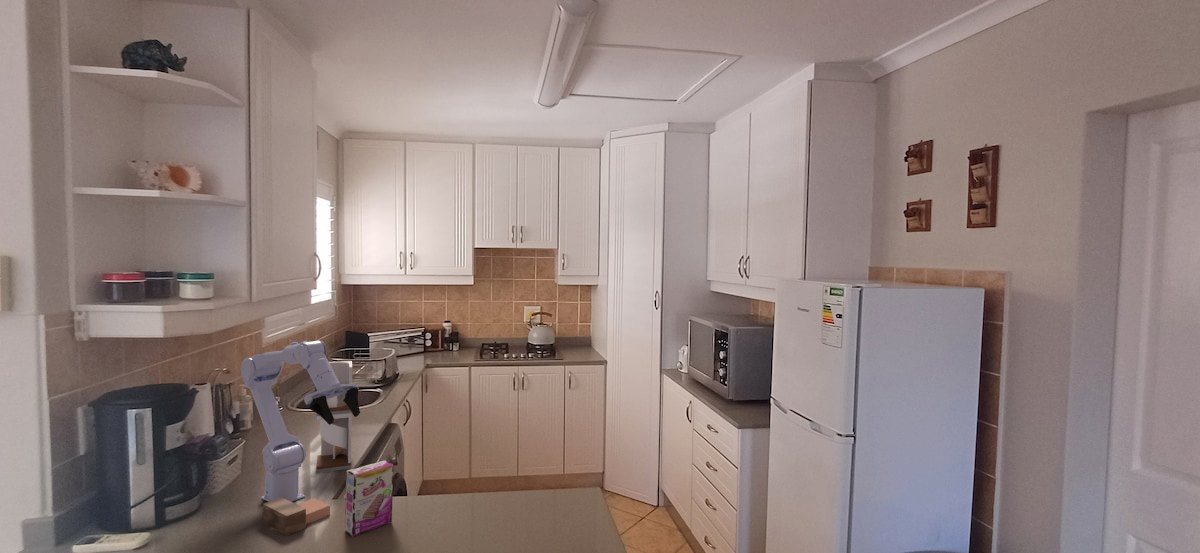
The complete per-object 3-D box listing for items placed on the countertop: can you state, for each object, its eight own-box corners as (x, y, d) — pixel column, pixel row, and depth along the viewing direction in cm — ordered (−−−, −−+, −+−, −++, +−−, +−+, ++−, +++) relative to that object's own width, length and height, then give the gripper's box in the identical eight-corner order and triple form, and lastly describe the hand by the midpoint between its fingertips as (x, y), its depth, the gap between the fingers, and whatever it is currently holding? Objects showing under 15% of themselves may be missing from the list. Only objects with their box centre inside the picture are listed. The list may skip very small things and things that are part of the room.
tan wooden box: (262, 522, 147) (262, 503, 147) (281, 515, 152) (281, 497, 151) (286, 535, 141) (286, 516, 141) (305, 528, 145) (305, 508, 145)
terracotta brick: (289, 517, 151) (289, 507, 151) (313, 508, 157) (313, 498, 157) (305, 525, 147) (305, 515, 147) (329, 515, 153) (330, 505, 153)
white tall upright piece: (317, 461, 192) (318, 362, 191) (350, 457, 196) (351, 360, 195) (315, 473, 182) (317, 368, 180) (350, 468, 186) (352, 366, 185)
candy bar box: (353, 538, 141) (354, 475, 140) (344, 531, 144) (344, 470, 144) (393, 522, 150) (394, 463, 149) (383, 516, 153) (384, 459, 152)
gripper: (304, 374, 144) (325, 417, 140) (353, 364, 156) (374, 403, 152) (293, 389, 147) (314, 432, 143) (343, 378, 159) (363, 417, 155)
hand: (344, 418), depth 148 cm, fingers open, 7 cm apart
